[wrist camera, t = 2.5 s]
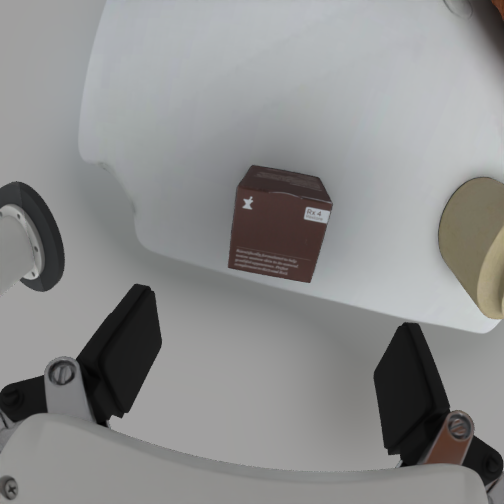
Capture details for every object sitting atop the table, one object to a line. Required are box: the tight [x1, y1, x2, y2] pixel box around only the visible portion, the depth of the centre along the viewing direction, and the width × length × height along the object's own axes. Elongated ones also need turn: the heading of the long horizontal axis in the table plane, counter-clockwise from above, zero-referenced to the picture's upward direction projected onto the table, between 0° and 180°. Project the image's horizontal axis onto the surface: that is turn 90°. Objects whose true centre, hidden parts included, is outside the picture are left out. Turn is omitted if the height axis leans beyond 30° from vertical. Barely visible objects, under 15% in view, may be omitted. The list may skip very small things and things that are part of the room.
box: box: [228, 165, 333, 283], centre depth 21 cm, size 6×6×7 cm
